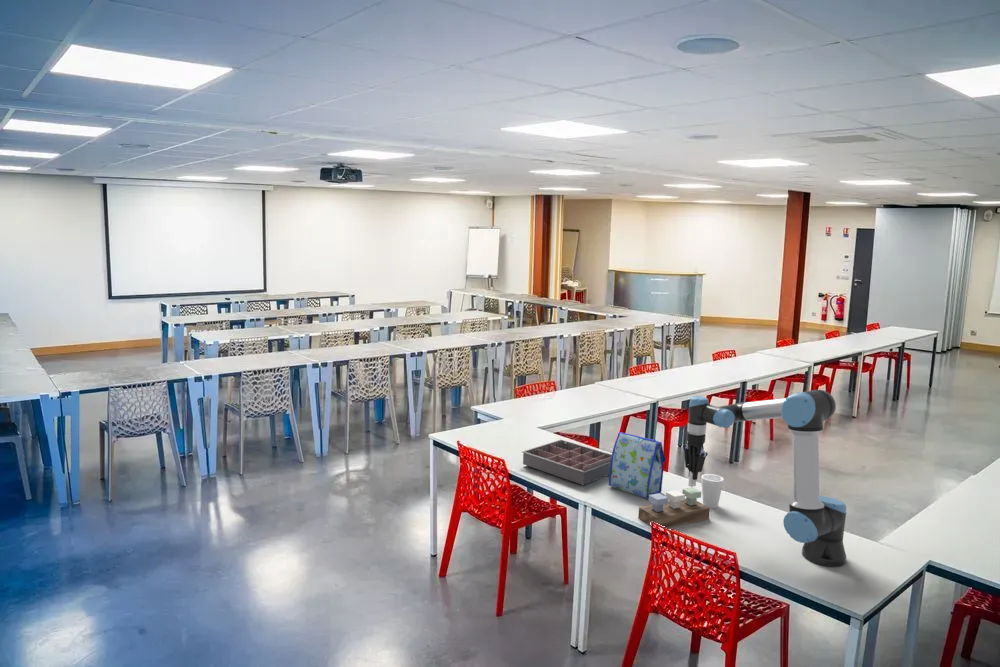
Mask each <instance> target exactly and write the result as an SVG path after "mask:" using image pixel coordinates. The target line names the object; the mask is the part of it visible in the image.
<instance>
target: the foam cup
mask: <svg viewBox="0 0 1000 667" xmlns="http://www.w3.org/2000/svg"><path fill="white" fill-rule="evenodd" d="M700 479H701V480H700V482H701V498H702V504H704V505H706V506H707V507H709V508H710V509H717V508H718V506H719V502H720V498H721V494H722V489H723V486H724V480H725V479H724V477H723V476H721V475H718V474H714V473H712V474H711V473H705V474H702V475H701V478H700Z"/></svg>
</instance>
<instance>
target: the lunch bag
mask: <svg viewBox="0 0 1000 667" xmlns="http://www.w3.org/2000/svg"><path fill="white" fill-rule="evenodd" d="M663 448H664V447H663V443H662V442H661V441H658V440H656V439H654V438H653V439H652V438H647V437H644V436H639V435H635V434H630V433H626V432H621V431H619V432H618V433H617V437H616V439H615V442H614V445H613V447H612V451H611V452H612V453H611V454H612V457H611V463H610V470H609V475H608V487H611V488H614V489H617V490H621V491H624V492H626V493H630V494H632V495H636V496H638V497H642V498H645V499H647V500H649V495H652V494H658V493H660V494H662V488H663V487H662V485H663V478H664V463H665V462H666V461H667V460H666V456H665V452H664V449H663Z"/></svg>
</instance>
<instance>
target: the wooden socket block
mask: <svg viewBox="0 0 1000 667" xmlns="http://www.w3.org/2000/svg"><path fill="white" fill-rule="evenodd" d="M669 505H670V500H668V504H663V511H660V512H656V511H654V510H653V504H649V505H644V506H639V507H638V517H637V518H638V519H639V520H640V521H642V522H644V523H645V524H647V525H649V526H650V522H651V521H653V522H655V523H658V524H660V525H662V526H665V527H667V528H671V527H676V526H681V525H685V524H690V523H696V522H701V521H705V520H710V510H711V508H709V507H707V506H706V505H704V504H703V502H700V501H698V500H697V501H696V505H689V504H687V503H686V497H685V501H680V508H676V509H674V508H672V507H670V506H669Z"/></svg>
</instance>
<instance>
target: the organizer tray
mask: <svg viewBox="0 0 1000 667" xmlns="http://www.w3.org/2000/svg"><path fill="white" fill-rule="evenodd" d="M521 453H523V454H522V455H523V456H522V458H523V460H522V461H523V462H522V464H523V465H525V466H528V467H531V468H533V469H535V470H538V471H542V472H545V473H547V474H549V475H553V476H556V477H560V478H563V479H565V480H567V481H570V482H573V483H577V484H580V485H582V486H584V485H586V484H589V483H592V482H594V481H597V480H600V479H601V478H604V477H606V476H609V470H610V463H611V457H612V453H608V452H605V451H602V450H599V449H594V448H591V447H588V446H585V445H581V444H577V443H574V442H570V441H567V440H564V439H558V440H554V441H552V442H548V443H544V444H542V445H539V446H536V447H532V448H529V449H525V450H522V451H521Z"/></svg>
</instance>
